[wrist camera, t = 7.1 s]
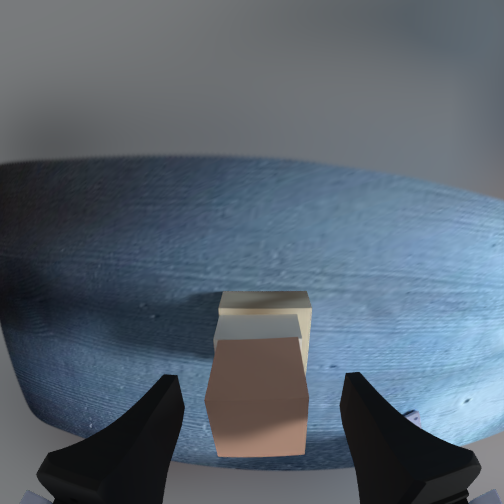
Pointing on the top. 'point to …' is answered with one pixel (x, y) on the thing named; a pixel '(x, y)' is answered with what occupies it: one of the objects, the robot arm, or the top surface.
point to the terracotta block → (258, 398)
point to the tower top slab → (257, 327)
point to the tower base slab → (271, 308)
